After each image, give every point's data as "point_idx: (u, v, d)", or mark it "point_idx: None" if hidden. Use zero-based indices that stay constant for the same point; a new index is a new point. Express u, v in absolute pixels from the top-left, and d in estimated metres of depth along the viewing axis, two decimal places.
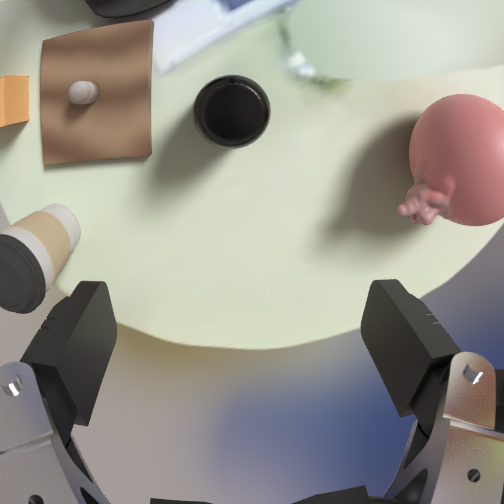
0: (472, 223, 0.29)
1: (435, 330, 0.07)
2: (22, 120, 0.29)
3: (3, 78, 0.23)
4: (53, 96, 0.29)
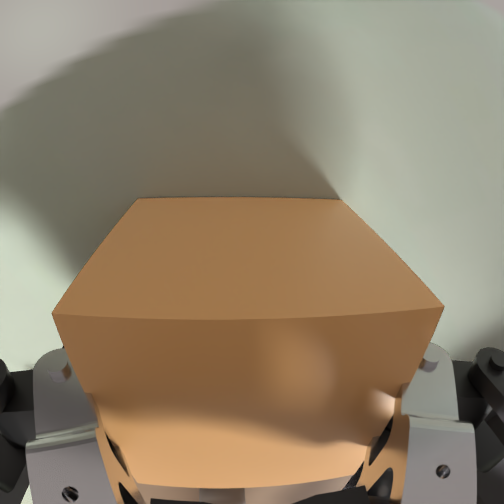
0: None
1: None
2: None
3: (346, 474, 0.07)
4: None
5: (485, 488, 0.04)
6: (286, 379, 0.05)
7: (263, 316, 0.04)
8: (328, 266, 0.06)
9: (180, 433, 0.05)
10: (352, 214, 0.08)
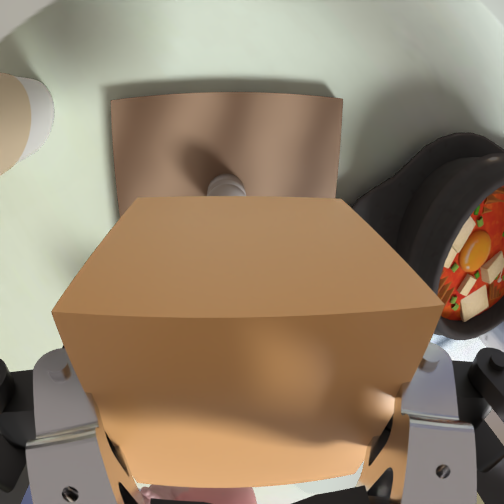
0: None
1: None
2: None
3: (347, 473, 0.07)
4: (231, 120, 0.20)
5: (484, 488, 0.04)
6: (287, 377, 0.05)
7: (264, 314, 0.04)
8: (328, 264, 0.06)
9: (180, 432, 0.05)
10: (352, 213, 0.08)
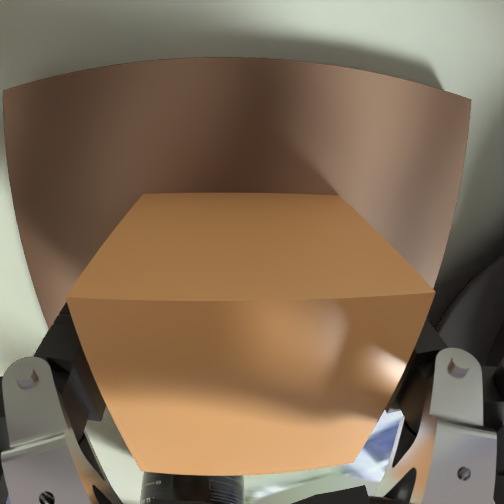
0: None
1: None
2: None
3: (345, 461, 0.07)
4: (252, 124, 0.09)
5: (499, 491, 0.04)
6: (287, 360, 0.05)
7: (265, 298, 0.05)
8: (326, 255, 0.06)
9: (185, 415, 0.06)
10: (349, 209, 0.09)
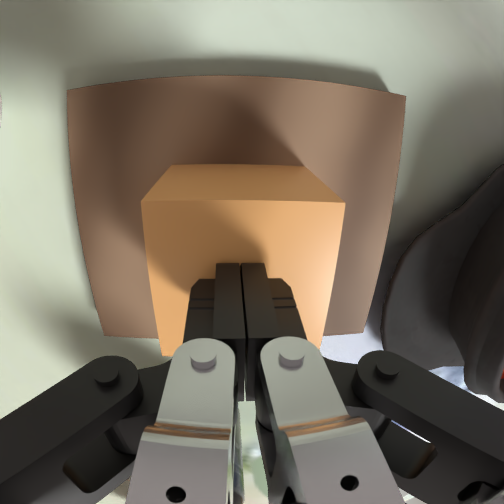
0: None
1: (272, 312, 0.07)
2: None
3: None
4: (245, 119, 0.13)
5: (419, 491, 0.05)
6: (260, 240, 0.10)
7: (247, 200, 0.09)
8: (284, 188, 0.10)
9: None
10: (308, 172, 0.13)
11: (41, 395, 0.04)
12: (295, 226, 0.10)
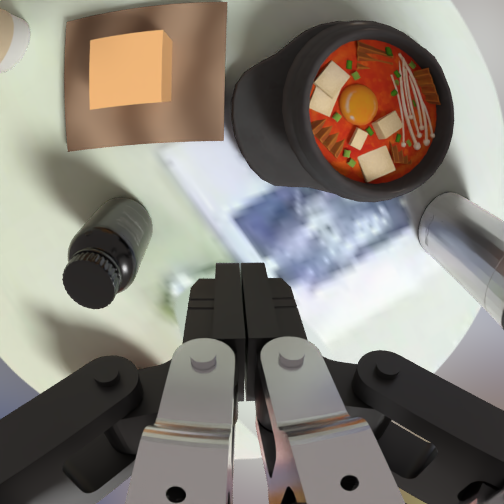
0: None
1: (272, 312, 0.07)
2: None
3: (157, 100, 0.22)
4: (144, 24, 0.23)
5: (419, 491, 0.05)
6: (130, 47, 0.19)
7: (126, 34, 0.19)
8: None
9: (108, 69, 0.20)
10: (169, 38, 0.23)
11: (41, 395, 0.04)
12: (143, 40, 0.19)
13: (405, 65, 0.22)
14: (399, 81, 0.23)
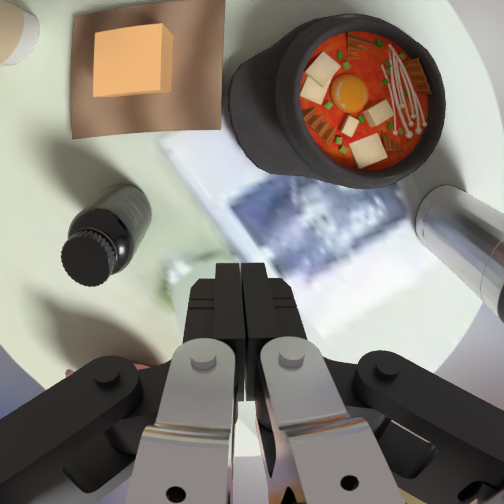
0: None
1: (272, 312, 0.07)
2: (110, 96, 0.26)
3: (156, 88, 0.23)
4: (146, 20, 0.24)
5: (419, 491, 0.05)
6: (132, 39, 0.21)
7: (128, 27, 0.20)
8: None
9: (111, 59, 0.21)
10: (169, 33, 0.24)
11: (41, 395, 0.04)
12: (144, 33, 0.20)
13: (395, 56, 0.23)
14: (390, 71, 0.24)
